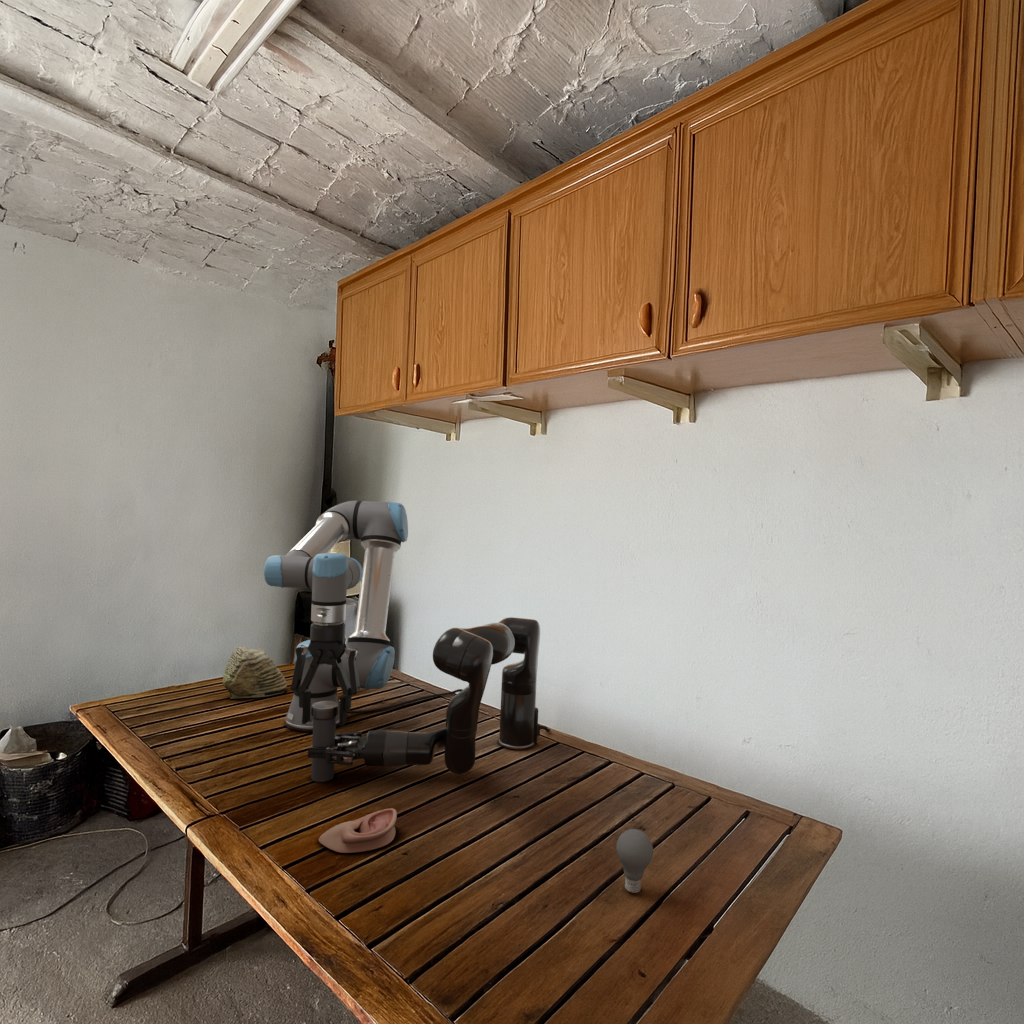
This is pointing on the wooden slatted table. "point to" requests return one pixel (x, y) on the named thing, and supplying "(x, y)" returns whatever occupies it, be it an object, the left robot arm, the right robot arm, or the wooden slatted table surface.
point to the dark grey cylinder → (323, 738)
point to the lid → (324, 709)
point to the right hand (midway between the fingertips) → (311, 747)
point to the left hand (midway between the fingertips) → (324, 722)
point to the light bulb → (634, 857)
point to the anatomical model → (362, 833)
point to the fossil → (252, 674)
